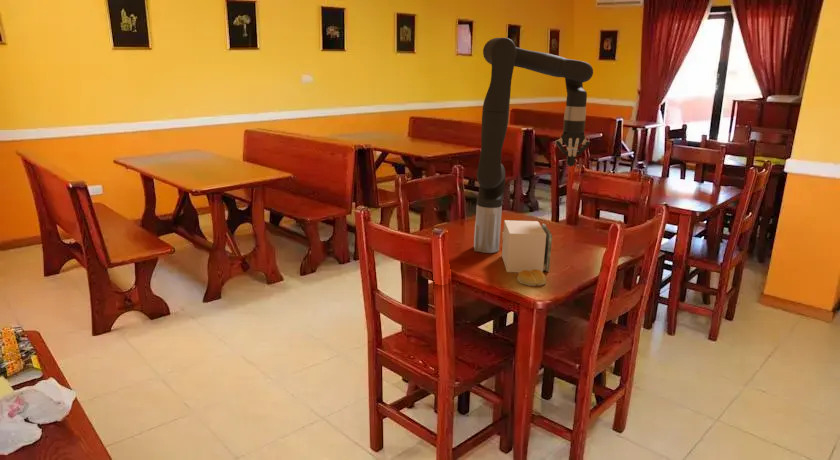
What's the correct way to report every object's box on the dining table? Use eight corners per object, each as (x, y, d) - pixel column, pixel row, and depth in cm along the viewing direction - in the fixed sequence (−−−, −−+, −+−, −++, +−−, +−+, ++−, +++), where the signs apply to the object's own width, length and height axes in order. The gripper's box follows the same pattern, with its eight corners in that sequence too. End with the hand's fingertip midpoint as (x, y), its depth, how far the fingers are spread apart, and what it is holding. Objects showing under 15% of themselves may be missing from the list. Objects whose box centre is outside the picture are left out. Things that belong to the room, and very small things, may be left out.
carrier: (509, 270, 194) (512, 234, 191) (504, 256, 208) (507, 222, 204) (551, 271, 194) (554, 235, 190) (544, 257, 207) (547, 223, 204)
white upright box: (506, 271, 193) (509, 233, 189) (501, 255, 209) (504, 220, 205) (542, 273, 193) (546, 234, 189) (534, 257, 209) (538, 221, 205)
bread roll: (514, 278, 189) (514, 266, 187) (540, 277, 190) (541, 266, 189) (521, 287, 181) (522, 275, 180) (549, 286, 182) (550, 275, 181)
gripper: (558, 119, 206) (554, 167, 211) (595, 120, 205) (590, 168, 210) (554, 117, 213) (550, 163, 218) (590, 118, 212) (586, 164, 217)
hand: (570, 166), depth 214 cm, fingers closed
